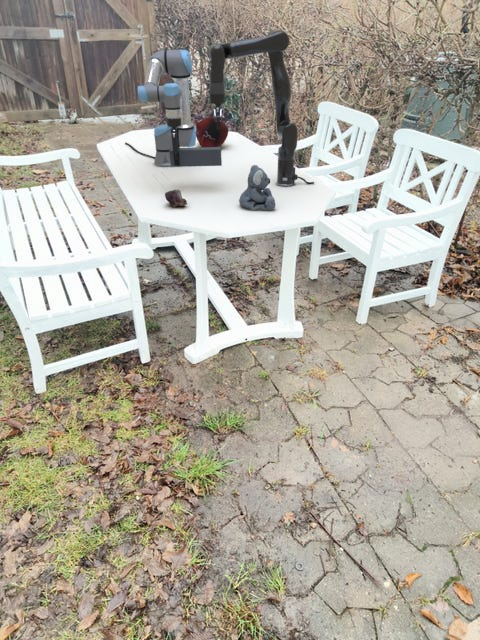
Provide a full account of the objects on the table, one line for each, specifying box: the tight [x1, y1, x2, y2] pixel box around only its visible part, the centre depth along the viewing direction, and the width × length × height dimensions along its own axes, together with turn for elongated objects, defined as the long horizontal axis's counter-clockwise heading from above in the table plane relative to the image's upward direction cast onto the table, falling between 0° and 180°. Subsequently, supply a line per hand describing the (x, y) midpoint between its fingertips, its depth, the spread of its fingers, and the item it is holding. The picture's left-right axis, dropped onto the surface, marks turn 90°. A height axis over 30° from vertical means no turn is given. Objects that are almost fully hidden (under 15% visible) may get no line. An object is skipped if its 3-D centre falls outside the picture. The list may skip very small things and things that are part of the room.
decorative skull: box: [193, 116, 229, 147], centre depth 324 cm, size 21×24×25 cm
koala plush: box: [238, 164, 276, 211], centre depth 224 cm, size 17×18×20 cm
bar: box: [169, 146, 223, 168], centre depth 242 cm, size 27×5×8 cm, turn 92°
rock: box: [164, 188, 188, 207], centre depth 228 cm, size 12×9×10 cm
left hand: (177, 163), depth 244 cm, fingers closed on bar, 5 cm apart
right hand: (218, 127), depth 228 cm, fingers open, 8 cm apart
